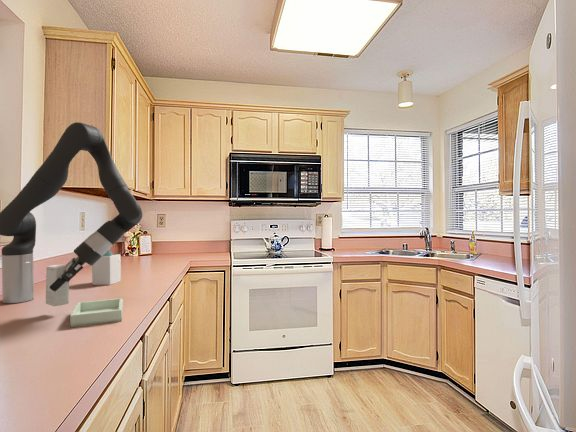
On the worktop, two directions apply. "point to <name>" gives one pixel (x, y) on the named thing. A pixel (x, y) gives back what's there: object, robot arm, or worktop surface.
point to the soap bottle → (107, 269)
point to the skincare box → (62, 293)
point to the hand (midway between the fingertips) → (51, 287)
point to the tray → (97, 312)
